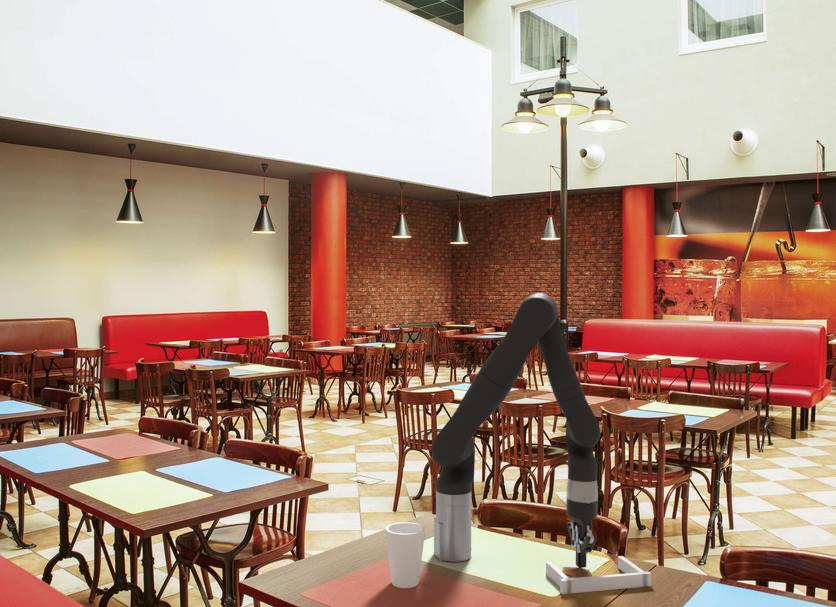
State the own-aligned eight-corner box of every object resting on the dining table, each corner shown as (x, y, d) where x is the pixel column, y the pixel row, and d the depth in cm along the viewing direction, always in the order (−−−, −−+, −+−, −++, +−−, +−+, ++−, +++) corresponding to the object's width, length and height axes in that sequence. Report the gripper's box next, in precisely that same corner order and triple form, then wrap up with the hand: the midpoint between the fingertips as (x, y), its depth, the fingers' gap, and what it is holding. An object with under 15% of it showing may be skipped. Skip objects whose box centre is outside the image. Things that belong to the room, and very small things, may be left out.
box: (562, 594, 170) (562, 581, 170) (542, 574, 181) (542, 562, 181) (651, 586, 174) (651, 573, 174) (625, 567, 186) (625, 555, 186)
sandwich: (595, 591, 173) (595, 583, 173) (561, 589, 174) (561, 582, 174) (589, 574, 183) (589, 567, 183) (558, 573, 184) (558, 566, 184)
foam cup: (430, 578, 179) (430, 524, 179) (417, 592, 170) (417, 536, 170) (393, 573, 182) (393, 520, 182) (379, 587, 173) (379, 532, 173)
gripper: (557, 490, 190) (556, 558, 190) (579, 504, 177) (577, 577, 177) (584, 489, 191) (583, 556, 191) (608, 503, 178) (607, 575, 178)
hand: (580, 566), depth 184 cm, fingers closed
